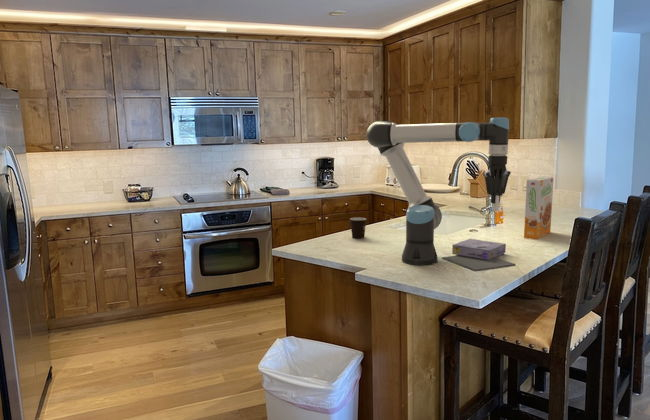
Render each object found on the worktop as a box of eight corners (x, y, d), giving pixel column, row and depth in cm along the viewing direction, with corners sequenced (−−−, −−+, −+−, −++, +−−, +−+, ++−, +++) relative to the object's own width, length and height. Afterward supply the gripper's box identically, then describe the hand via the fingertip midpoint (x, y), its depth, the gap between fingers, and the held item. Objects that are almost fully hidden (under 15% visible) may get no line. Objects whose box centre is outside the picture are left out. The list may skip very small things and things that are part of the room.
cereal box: (536, 239, 254) (539, 180, 249) (523, 237, 258) (526, 179, 253) (550, 232, 271) (553, 176, 266) (538, 230, 275) (541, 176, 270)
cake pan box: (506, 253, 227) (469, 247, 238) (507, 242, 226) (469, 236, 237) (490, 261, 212) (451, 254, 223) (490, 250, 211) (451, 243, 222)
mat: (475, 271, 199) (475, 269, 199) (442, 258, 219) (442, 257, 219) (515, 265, 207) (515, 263, 207) (479, 253, 227) (479, 252, 227)
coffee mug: (358, 240, 259) (358, 221, 257) (346, 237, 265) (346, 218, 264) (373, 236, 266) (373, 218, 265) (362, 234, 273) (362, 216, 271)
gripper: (491, 155, 203) (488, 213, 207) (516, 155, 208) (513, 211, 212) (479, 155, 210) (476, 210, 214) (503, 154, 215) (500, 208, 219)
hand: (494, 210), depth 213 cm, fingers closed
